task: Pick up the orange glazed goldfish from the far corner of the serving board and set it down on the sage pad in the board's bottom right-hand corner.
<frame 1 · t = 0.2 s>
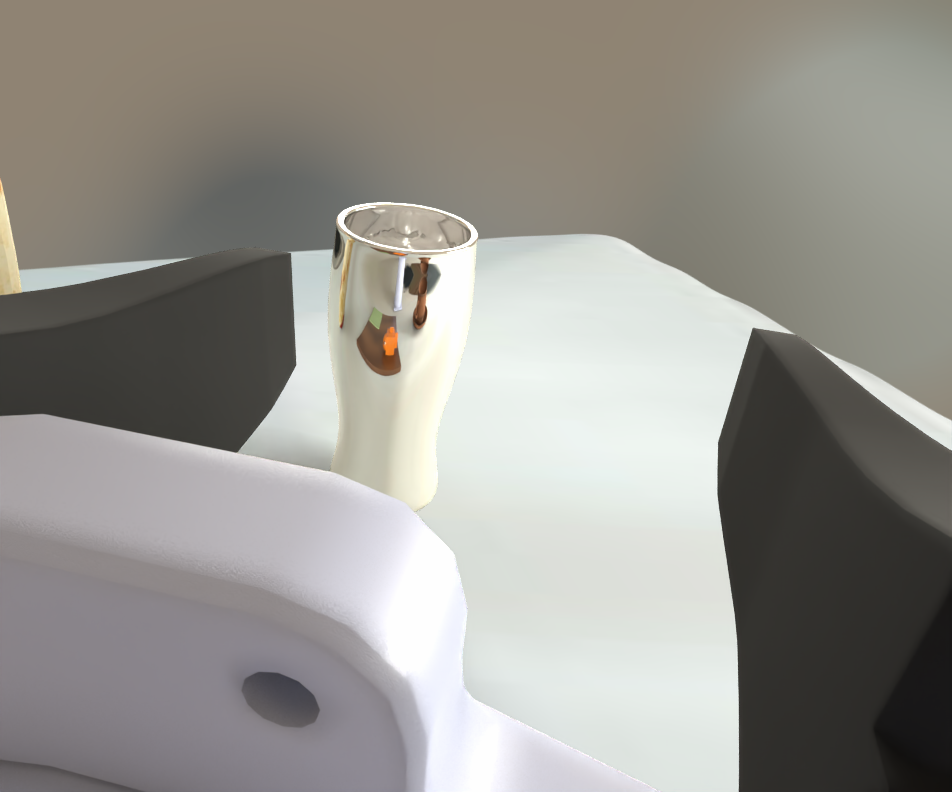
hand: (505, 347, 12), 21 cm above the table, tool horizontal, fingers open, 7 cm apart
beer glass: (382, 485, 43), on the table
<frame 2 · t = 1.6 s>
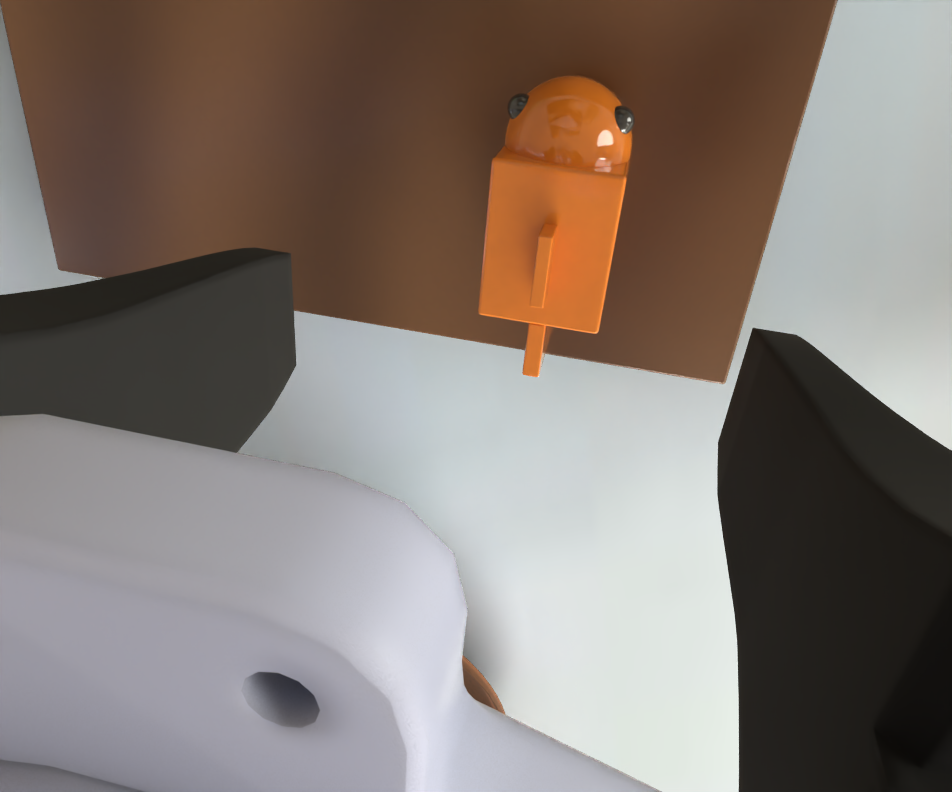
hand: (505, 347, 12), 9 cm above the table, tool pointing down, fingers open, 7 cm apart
cup and saucer: (376, 678, 32), on the table
goldfish: (565, 195, 19), point 1 cm above the table, touching board
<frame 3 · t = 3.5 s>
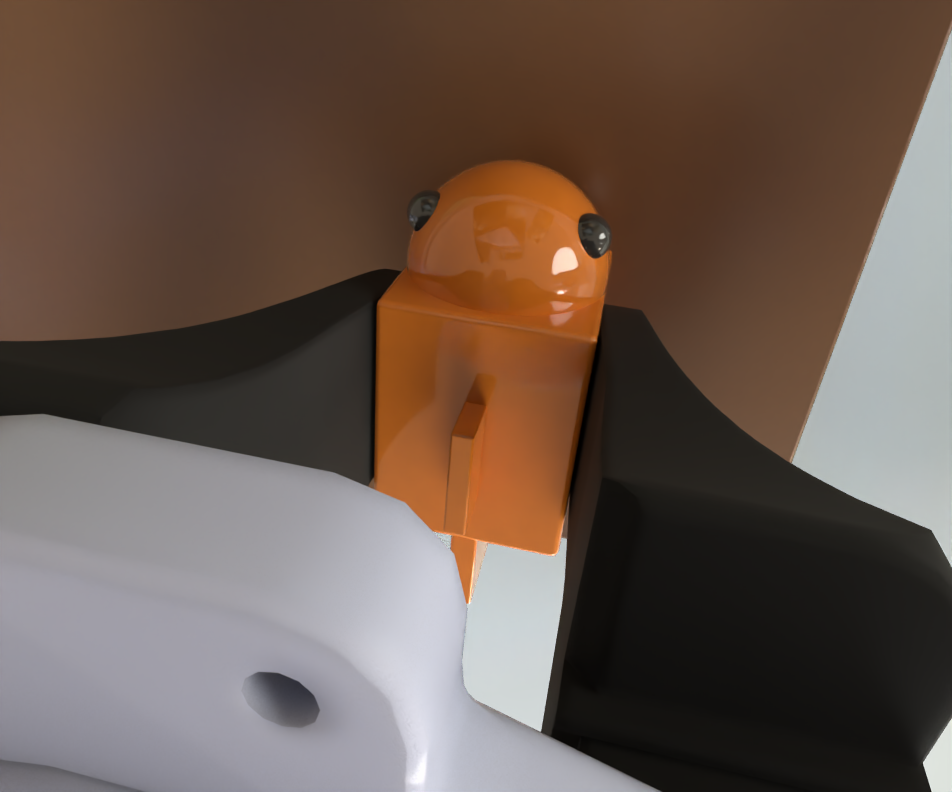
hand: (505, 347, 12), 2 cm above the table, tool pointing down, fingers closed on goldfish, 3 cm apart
goldfish: (514, 320, 13), point 1 cm above the table, touching board, gripper
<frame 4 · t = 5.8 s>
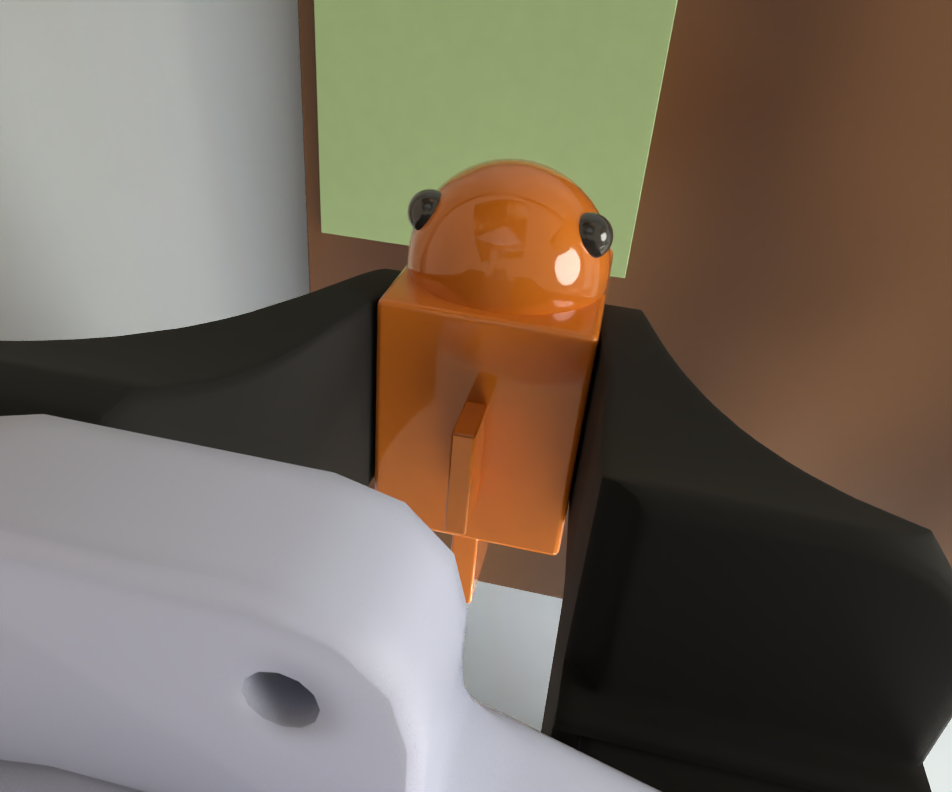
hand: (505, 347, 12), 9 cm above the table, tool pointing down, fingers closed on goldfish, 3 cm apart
corner pad: (482, 88, 18), resting on board
goldfish: (515, 319, 13), point 8 cm above the table, touching gripper
board: (672, 321, 21), on the table
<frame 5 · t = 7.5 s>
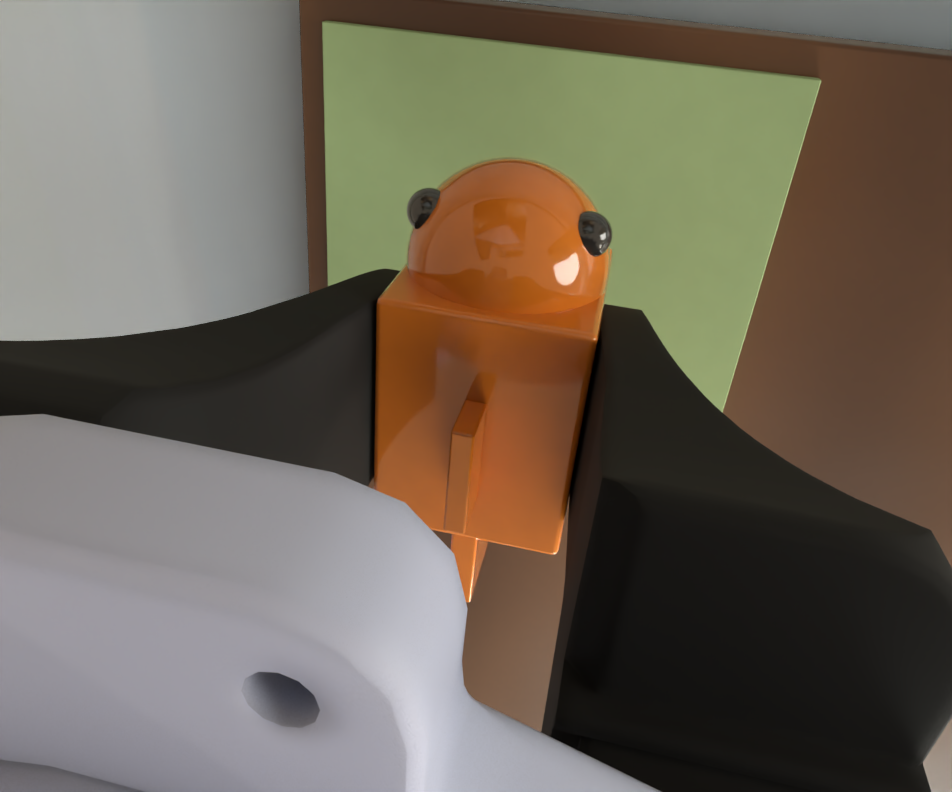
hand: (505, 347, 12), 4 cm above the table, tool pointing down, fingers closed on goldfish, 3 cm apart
corner pad: (532, 278, 14), resting on board
goldfish: (514, 318, 13), point 3 cm above the table, touching gripper
board: (748, 525, 17), on the table
when the fingers open (2 cm above the table, at t = 8.4 s): goldfish stays where it is, resting on corner pad.
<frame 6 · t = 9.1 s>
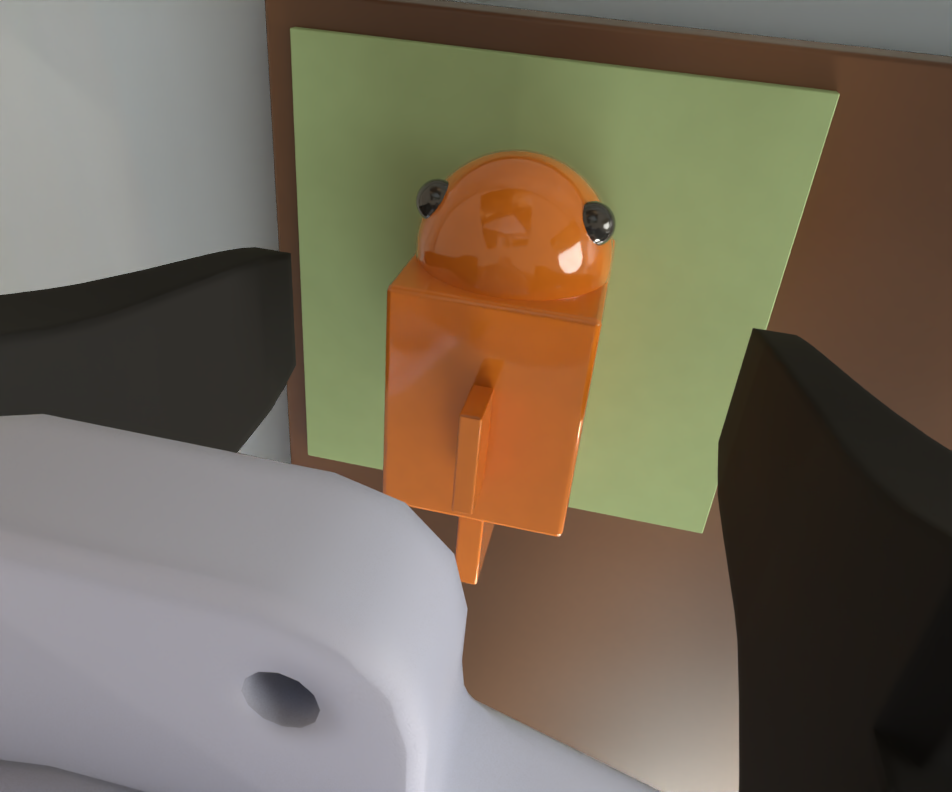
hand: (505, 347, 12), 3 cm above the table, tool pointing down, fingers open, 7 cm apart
corner pad: (522, 306, 13), resting on board
goldfish: (519, 308, 13), point 1 cm above the table, touching corner pad
board: (755, 564, 16), on the table
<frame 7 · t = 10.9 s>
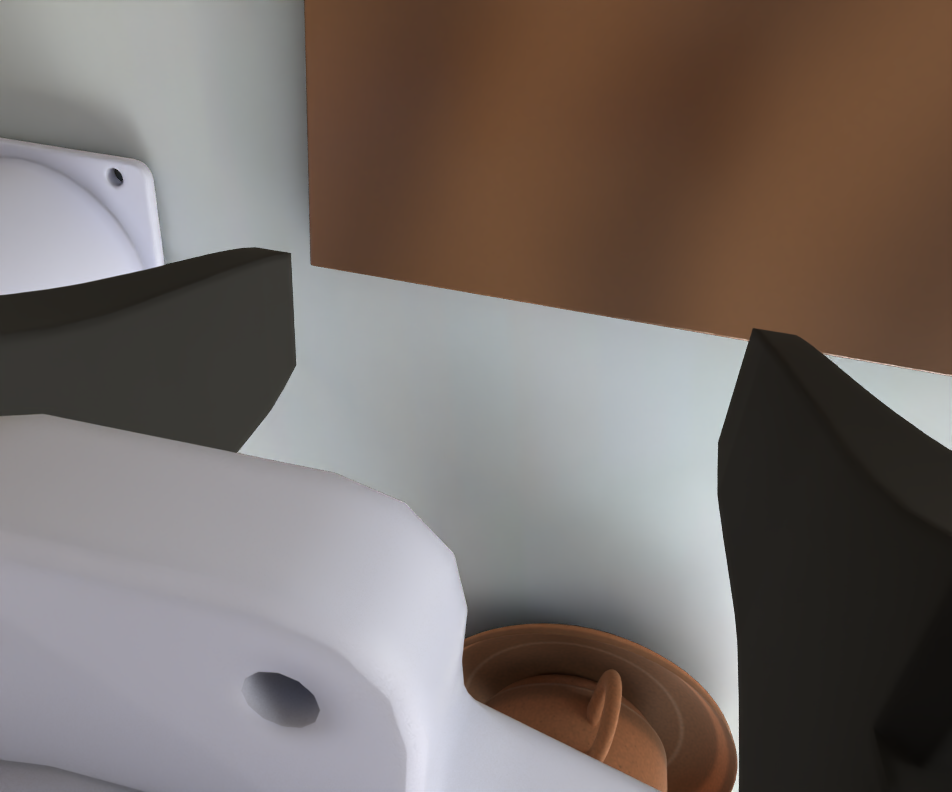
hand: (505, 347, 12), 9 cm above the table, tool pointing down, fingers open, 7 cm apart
cup and saucer: (572, 701, 30), on the table
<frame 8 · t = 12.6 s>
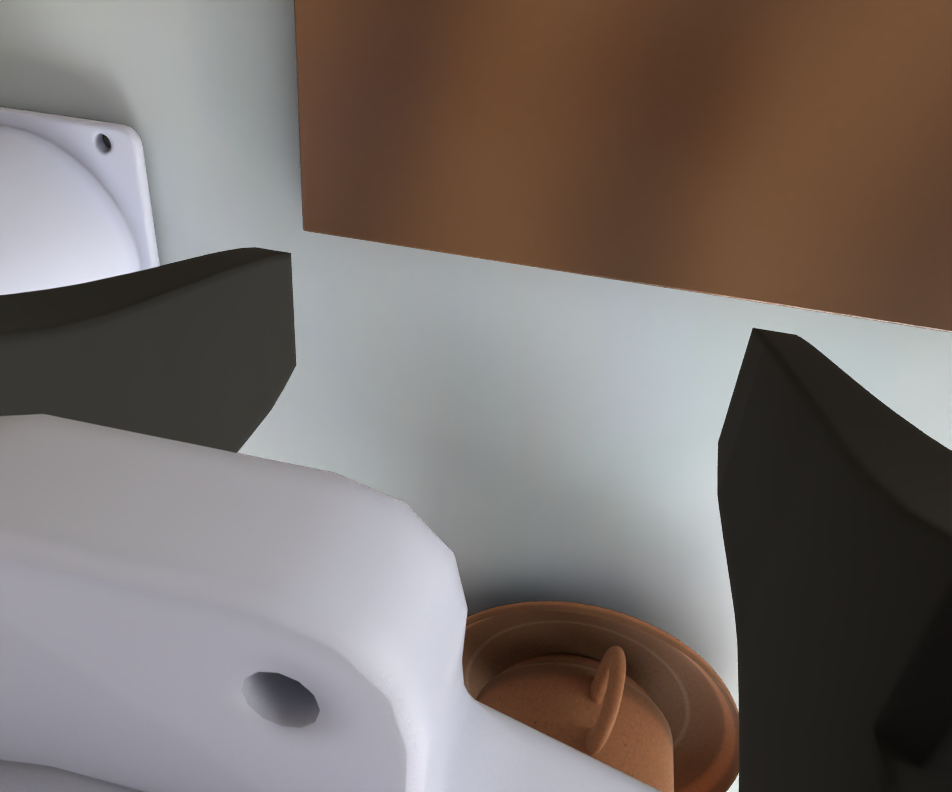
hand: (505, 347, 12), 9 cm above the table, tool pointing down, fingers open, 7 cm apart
cup and saucer: (576, 683, 30), on the table
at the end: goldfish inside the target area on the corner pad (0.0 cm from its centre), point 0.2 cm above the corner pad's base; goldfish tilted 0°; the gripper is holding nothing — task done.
